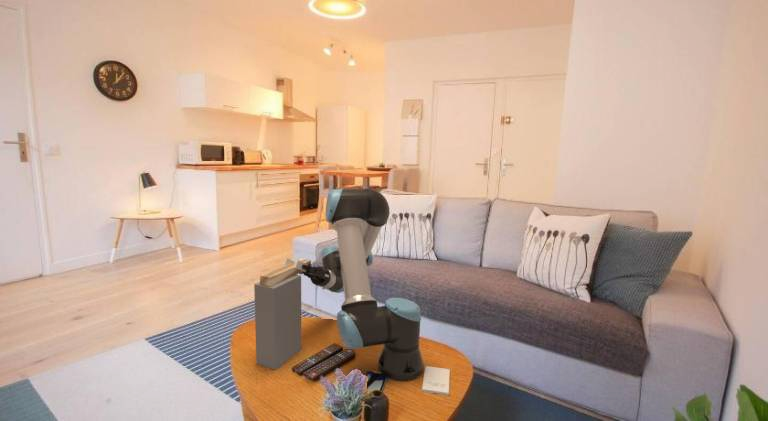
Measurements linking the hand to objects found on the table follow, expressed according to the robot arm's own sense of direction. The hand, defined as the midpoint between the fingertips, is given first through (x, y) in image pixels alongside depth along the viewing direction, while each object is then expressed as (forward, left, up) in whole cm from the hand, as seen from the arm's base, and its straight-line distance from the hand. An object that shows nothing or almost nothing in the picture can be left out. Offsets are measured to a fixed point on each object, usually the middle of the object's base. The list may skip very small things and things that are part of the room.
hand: (290, 262), depth 130 cm
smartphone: (-36, +7, -33) cm, 49 cm away
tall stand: (0, +6, -32) cm, 33 cm away
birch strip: (0, +2, -4) cm, 5 cm away
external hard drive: (-53, -5, -33) cm, 63 cm away
